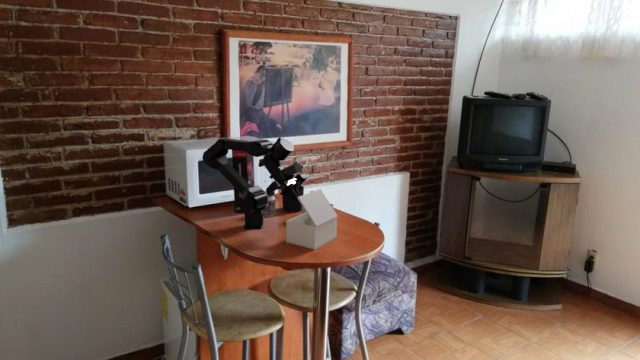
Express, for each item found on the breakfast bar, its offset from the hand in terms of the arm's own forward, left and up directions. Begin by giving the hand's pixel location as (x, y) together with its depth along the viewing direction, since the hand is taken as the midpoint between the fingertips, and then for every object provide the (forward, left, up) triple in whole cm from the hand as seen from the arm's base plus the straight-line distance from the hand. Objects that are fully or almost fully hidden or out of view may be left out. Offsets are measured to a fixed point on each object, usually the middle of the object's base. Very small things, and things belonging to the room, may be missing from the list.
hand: (301, 202), depth 170 cm
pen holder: (-3, +36, -13) cm, 39 cm away
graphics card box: (-24, +39, -13) cm, 48 cm away
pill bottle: (-13, +28, -13) cm, 34 cm away
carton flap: (+6, -4, -1) cm, 7 cm away
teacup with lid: (+6, +23, -13) cm, 27 cm away
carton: (+4, -3, -13) cm, 14 cm away
